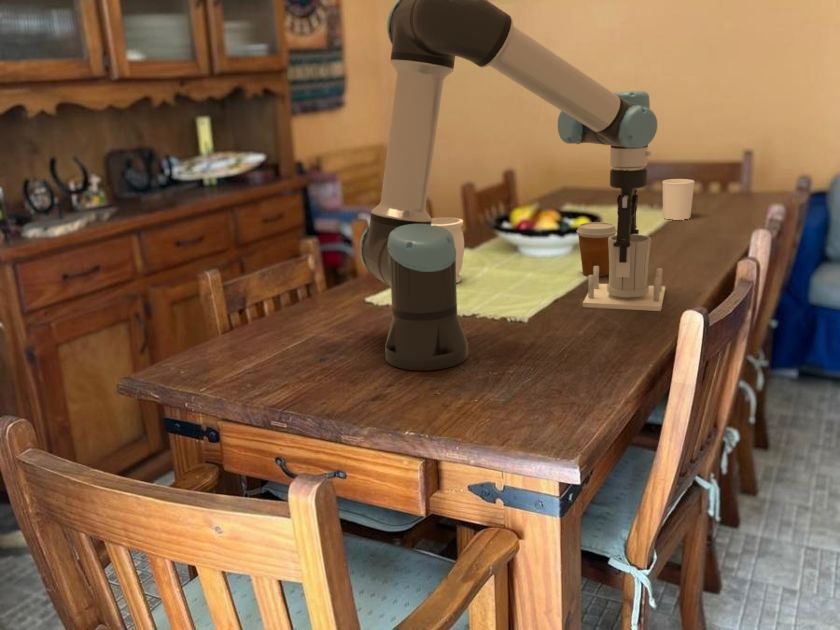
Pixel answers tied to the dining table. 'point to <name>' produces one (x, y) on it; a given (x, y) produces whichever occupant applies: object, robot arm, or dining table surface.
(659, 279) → the beige flat pegged board
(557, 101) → the robot arm
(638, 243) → the cup
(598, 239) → the disposable coffee cup
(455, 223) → the jar
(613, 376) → the dining table surface
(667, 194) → the candle holder
